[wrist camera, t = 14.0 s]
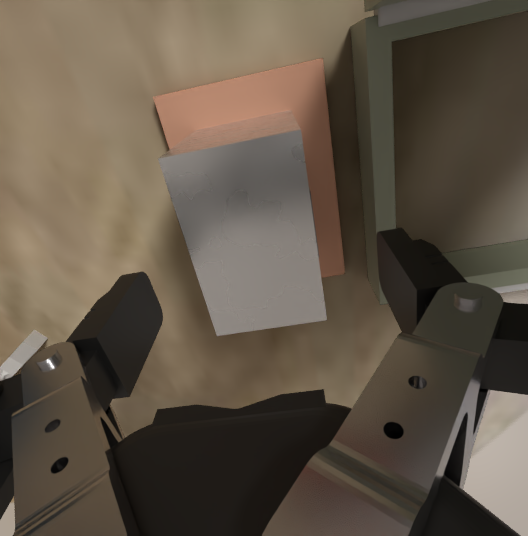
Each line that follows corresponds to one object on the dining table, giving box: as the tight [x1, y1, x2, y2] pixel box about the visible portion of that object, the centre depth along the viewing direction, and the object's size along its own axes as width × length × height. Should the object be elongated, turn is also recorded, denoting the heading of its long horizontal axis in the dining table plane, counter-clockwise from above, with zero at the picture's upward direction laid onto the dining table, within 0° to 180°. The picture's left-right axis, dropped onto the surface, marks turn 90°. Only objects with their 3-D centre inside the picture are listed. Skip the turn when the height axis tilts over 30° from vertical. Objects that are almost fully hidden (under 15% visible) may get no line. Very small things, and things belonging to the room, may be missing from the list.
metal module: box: [158, 110, 327, 336], centre depth 17 cm, size 5×8×7 cm, turn 11°
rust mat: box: [153, 58, 345, 278], centre depth 20 cm, size 8×12×1 cm
